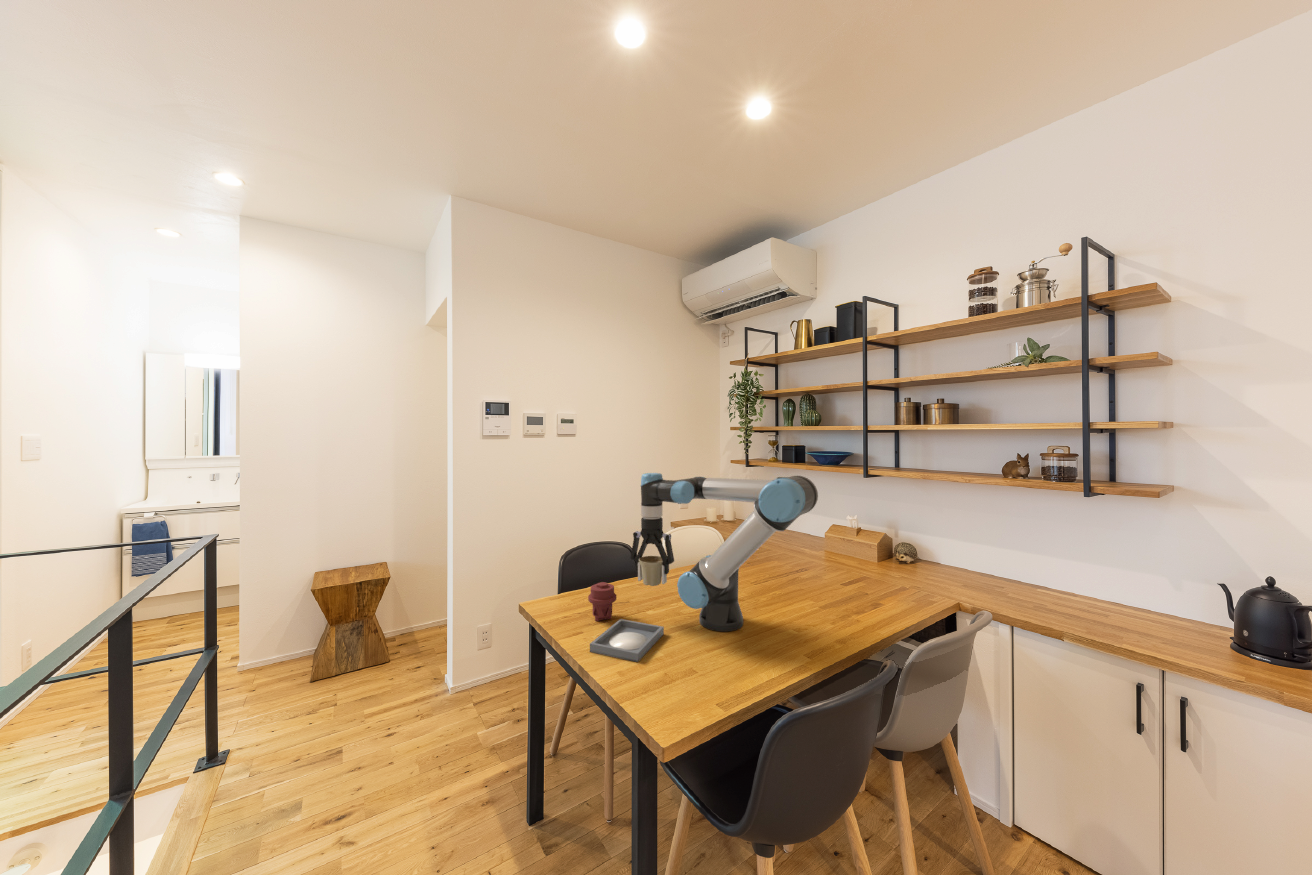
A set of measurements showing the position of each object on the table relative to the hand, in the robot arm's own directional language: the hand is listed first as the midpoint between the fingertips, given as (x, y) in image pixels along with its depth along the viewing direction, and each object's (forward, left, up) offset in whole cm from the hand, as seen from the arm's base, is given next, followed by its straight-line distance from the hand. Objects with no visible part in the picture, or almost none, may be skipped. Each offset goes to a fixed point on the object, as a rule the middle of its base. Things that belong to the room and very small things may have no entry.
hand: (652, 581), depth 163 cm
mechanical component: (+17, +5, -14) cm, 23 cm away
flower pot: (0, 0, -1) cm, 1 cm away
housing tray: (0, +18, -14) cm, 23 cm away
